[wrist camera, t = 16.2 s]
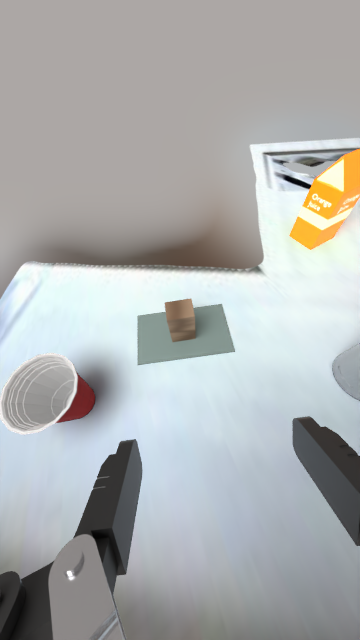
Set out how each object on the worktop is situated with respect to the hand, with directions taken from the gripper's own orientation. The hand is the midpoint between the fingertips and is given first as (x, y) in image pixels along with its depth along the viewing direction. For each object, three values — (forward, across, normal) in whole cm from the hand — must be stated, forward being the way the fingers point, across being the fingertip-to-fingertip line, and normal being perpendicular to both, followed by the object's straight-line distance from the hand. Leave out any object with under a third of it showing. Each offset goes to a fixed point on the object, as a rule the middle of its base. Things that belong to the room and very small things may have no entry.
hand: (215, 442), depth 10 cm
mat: (+34, +1, +4) cm, 34 cm away
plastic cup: (+25, +22, +13) cm, 36 cm away
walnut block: (+33, +1, +4) cm, 34 cm away
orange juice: (+51, -39, -13) cm, 66 cm away
